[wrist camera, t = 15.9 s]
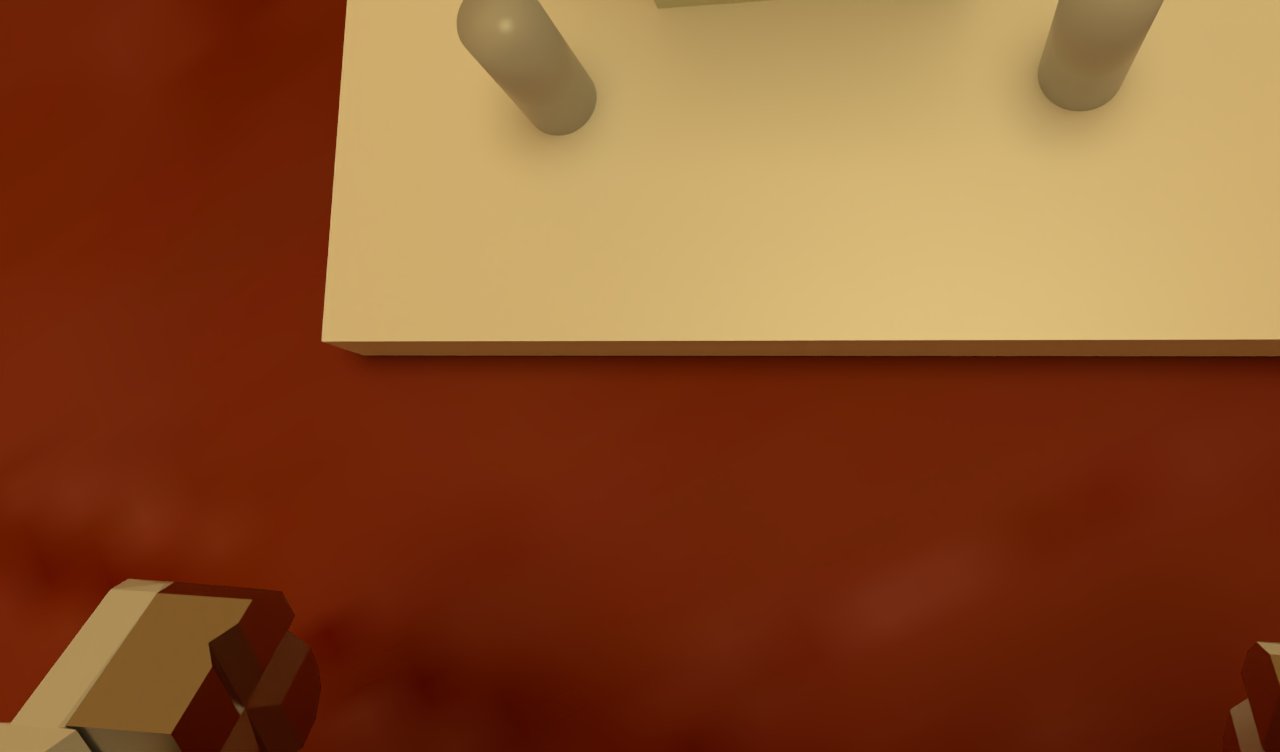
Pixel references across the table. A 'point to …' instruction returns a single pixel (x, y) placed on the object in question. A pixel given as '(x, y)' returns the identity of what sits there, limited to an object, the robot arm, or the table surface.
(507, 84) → the pin plate
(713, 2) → the beige rectangular block
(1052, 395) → the table surface
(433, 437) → the table surface
